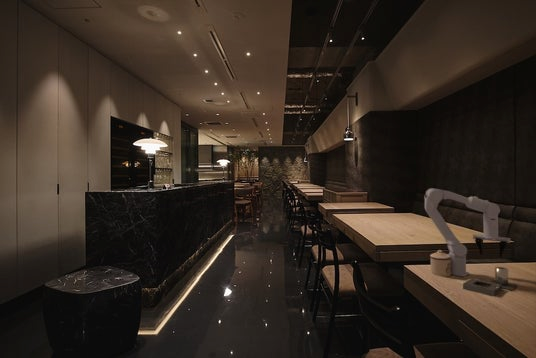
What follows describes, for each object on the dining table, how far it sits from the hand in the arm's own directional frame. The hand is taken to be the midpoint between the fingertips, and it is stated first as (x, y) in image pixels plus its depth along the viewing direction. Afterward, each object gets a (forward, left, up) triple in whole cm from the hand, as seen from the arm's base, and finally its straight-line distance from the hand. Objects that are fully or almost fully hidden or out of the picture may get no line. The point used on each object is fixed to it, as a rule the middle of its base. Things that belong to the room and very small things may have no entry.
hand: (491, 255), depth 145 cm
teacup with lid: (-17, -13, -10) cm, 24 cm away
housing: (+3, -24, -10) cm, 26 cm away
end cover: (+7, -13, -9) cm, 17 cm away
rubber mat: (+7, -13, -10) cm, 17 cm away
